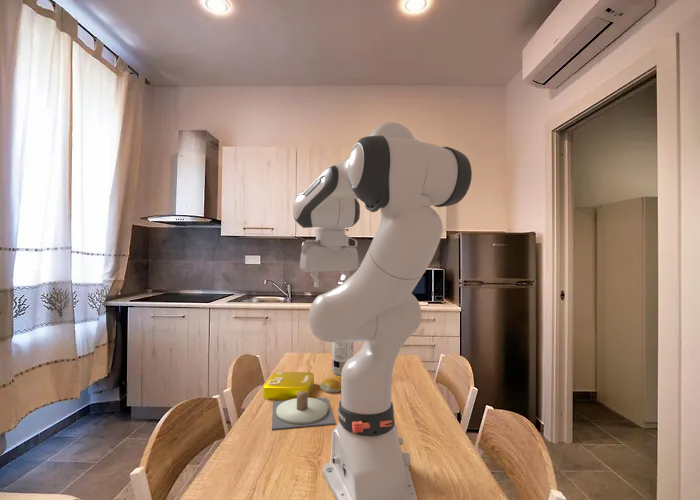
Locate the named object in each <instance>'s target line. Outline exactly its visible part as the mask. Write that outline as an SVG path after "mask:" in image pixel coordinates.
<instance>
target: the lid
mask: <svg viewBox="0 0 700 500" xmlns="http://www.w3.org/2000/svg"><path fill="white" fill-rule="evenodd" d="M284 401H285V402H283V403H281V404H280V405H279V406H278V407H277V409H276V416H277V417H278V418H279V419H280V420H281V421H284V422H286V423H291V424H307V423H312V422H315V421H318V420H320V419H322V418H323V417H325V416H326V414H327V412H328V407H327V405H326V403H324V402H323V401H321V400H318V399H315V398H314V397H309V398H308V392H307V391H299V392H297V398H295V399H291V400H284Z"/></svg>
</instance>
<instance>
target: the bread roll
mask: <svg viewBox="0 0 700 500" xmlns="http://www.w3.org/2000/svg"><path fill="white" fill-rule="evenodd" d="M320 390H322V391H323V392H325V393H328V394H330V393H331V394H332V393H333V394H334V393H338V392H341V376H340V375H335V376H332V377H328V378H324V379H322V380H321V383H320Z"/></svg>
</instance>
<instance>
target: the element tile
mask: <svg viewBox="0 0 700 500" xmlns="http://www.w3.org/2000/svg"><path fill="white" fill-rule="evenodd" d="M314 382H315V375H314V373H313V372H309V371H307V372H305V371H304V372H303V371H302V372H301V371H300V372H299V371H275V372H273V373H271V375H270V377H269V378H268V379H267V381H266V382H265V383H264V385H263V387H262V388H263V389H262V390H263V391H262V392H263V395H262V396H263V399H264V400H274V401H275V400H276V401H287V400H291V399H295V398H297V392H299V391H307V392H308V398H310V396H311V394H312V391H313V388H314V386H315V384H314Z"/></svg>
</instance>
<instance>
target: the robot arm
mask: <svg viewBox="0 0 700 500" xmlns="http://www.w3.org/2000/svg"><path fill="white" fill-rule="evenodd" d="M472 172H473V171H472V166H471V162H470V160H469V158H468V157H467V155H465V154H464V153H462V152H461V151H459V150H457V149H456V148H455V149H454V148H451V147H449V146H440V145H437V144H436V145H435V144H433V143H428V142H426V141H425V142H424V141H420V140H418V139H415V136H414V135H413V133H412V132H411V131H410V130H409V128H407V127H406V126H404V125H403V124H401V123H398V122H386V123H383V124H380V125H379V126H377V127H376V128H375V129H373V131H371V132H370V133H369V134H368V135H366V136H365V137H364V136H363V137H361V138H359V139H358V140H357V142H356V143H355V144H354V145H353V147H352V149H351V152H350V155H349V156H348V157H346V158H345V159H344V160H341V161H340V162H339V163H336V164H333V165H331V166H330V167H328V168H326V169H325V170H323V171H322V173H320V174H319V176H318V177H317V178H316V179H315V180H313V182H312V183H311V184H309V186H308V187H306V189H305V190H304V189H303V190H302V191H300V192H299V193H298V194H297V195H296V196H295V198H294V201H293V203H292V214H293V215H292V216H293V219H294V221H295V222H296V223H297V224H298V225H299V226H300V227H302V228H303V229H308V228H312V229H313V228H316V229H315V239H306V240H304V241H303V242H302V244H301V252H300V261H299V269H300V270H301V272H302V273H303V272H304V273H306V272H307V273H310V277H311V278H312V281H313V287H314V288H321V287H322V280H320V279H319V278H318V276H319V274H320V273H319V272H340V274H341V276H340V279H338V280H337V281H338V282H337V284H338V286H336V287H335V288H333V289H331V290H329V291H327V292H324V293H322V294H319V295H317V296H316V297H315V299H314V300H313V302H312V303H311V305H310V306H309V307H310V308H309V311H308V323H309V327H310V330H311V331H312V333H313V335H314V336H315V337H316V338H317V339H318V340H319V341H322V342H327V343H328V342H329V343H333V342H336V343H348V342H353V343H359V342H363V345H362V346H361V348H360V349H359V351H358V352H357V353H356V354H353V356H352V357H351V358H350V359H348V360H347V361H346V363H345V364H344V366H343V368H342V372H341V376H340V377H341V391H340V401H339V404H338V411H337V412H338V423H337V425H336V426H335V427H334V429H333V430H332V431H331V441H330V461H329V462H327V463H325V464H323V467H322V474H323V476H324V478H325V481H327V482H326V483H327V484H328V486H329V488H330V489H331V491H332V493H333V495H334V497H335V500H418V496H417V493H416V489H415V485H414V481H413V479H412V474H411V472H410V471H411V470H410V468H409V466H411V456H410V455H411V454H410V453H409V452H403V451H402V448H401V446H402V445H404V440H403V437H399V435H398V434H399V432H398V429H397V428H398V426H397V424H396V421H395V410H394V404H393V402H392V386H393V373H394V367H395V363H396V361H397V357H398V356H399V353H400V351H401V348H402V347H403V346H404V345H405V343H406V341H408V339H409V338H410V337H411V336H412V335H413V334H414V333H416V331H418V328H419V326H420V325H421V322H422V308H421V305H420V301H419V300H418V299H417V297H416V296H415V295H414V294H413V293H412V292H413V291H414V290H415V288H416V286H418V283H419V281H420V280H421V279H422V277H423V275H424V274H425V273H426V271H427V269H428V268H429V266H430V263H431V262H432V261H433V258H434V256H435V254H436V251H437V250H438V247H439V244H440V241H441V238H442V234H443V230H444V229H443V222H442V220H441V217H440V215H439V214H438V213H437V211H436V210H435V209H434V208H432V206H434V207H436V208H443V207H450V206H453V205H457V204H458V203H460V202H461V201H462V200H463V199H464V197H466V196H467V194H468V191H469V189H470V186H471V183H472V178H473V177H472V175H473V174H472ZM359 200H360V202H363V203H364V205H365V206H364V207H365V209H366V210H367V211H369V212H370V213H375V212H378V211H379V210H380V224H379V226H378V229H377V231H376V232H375V234H374V237H373V239H372V241H371V242H370V244H369V246H368V247H369V248H368V249H367V251H366V254H365V256H364V258H363V259H362V262H361V264H360V265H359V254H358V249H357V247H358V241H357V239H355V238H352V237H351V236H349V235H348V234H346V229H349V228H353V226H355V225H356V224H357V223H358V221H360V214H361V205H360V203H359ZM349 271H355V272H354V273H353V274H352V275H350V277H349V278H347V277H348V276H349Z"/></svg>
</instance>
